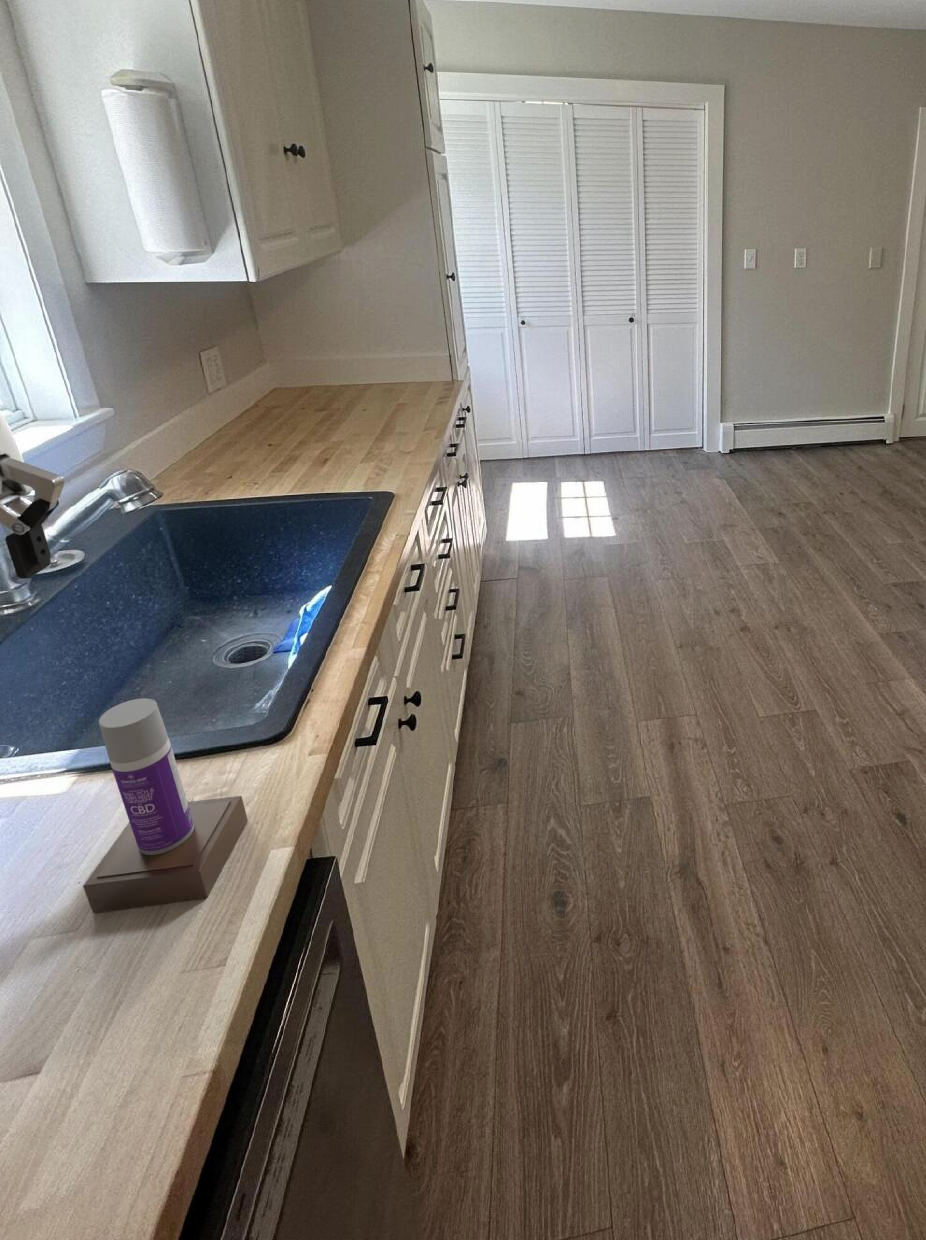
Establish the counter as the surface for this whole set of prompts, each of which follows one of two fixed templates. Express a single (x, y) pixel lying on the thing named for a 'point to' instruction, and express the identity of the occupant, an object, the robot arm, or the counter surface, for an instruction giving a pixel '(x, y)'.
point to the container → (147, 775)
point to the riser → (168, 861)
